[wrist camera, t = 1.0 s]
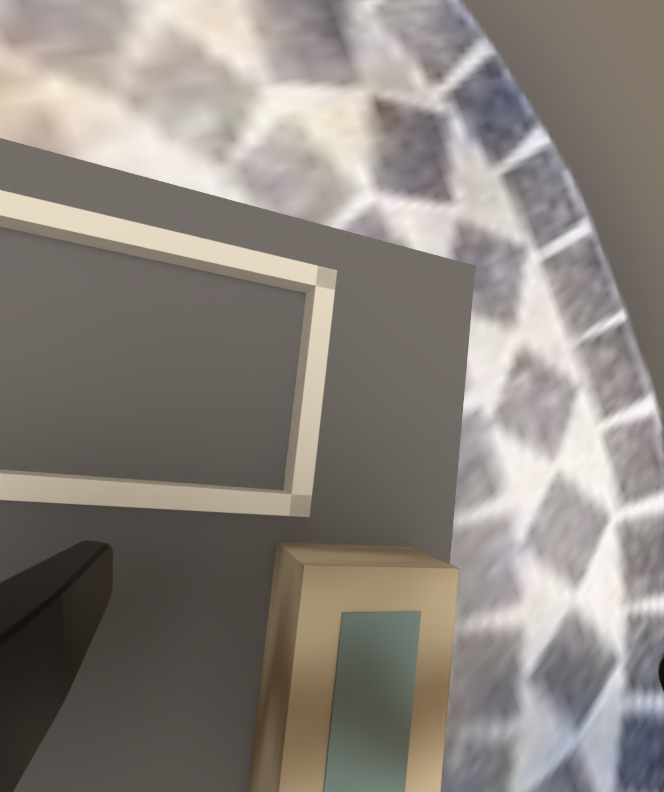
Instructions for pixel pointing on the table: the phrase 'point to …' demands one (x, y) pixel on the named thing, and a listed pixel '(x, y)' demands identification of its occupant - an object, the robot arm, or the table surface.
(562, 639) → the table surface
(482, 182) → the table surface
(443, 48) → the table surface
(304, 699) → the slab
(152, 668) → the mat
